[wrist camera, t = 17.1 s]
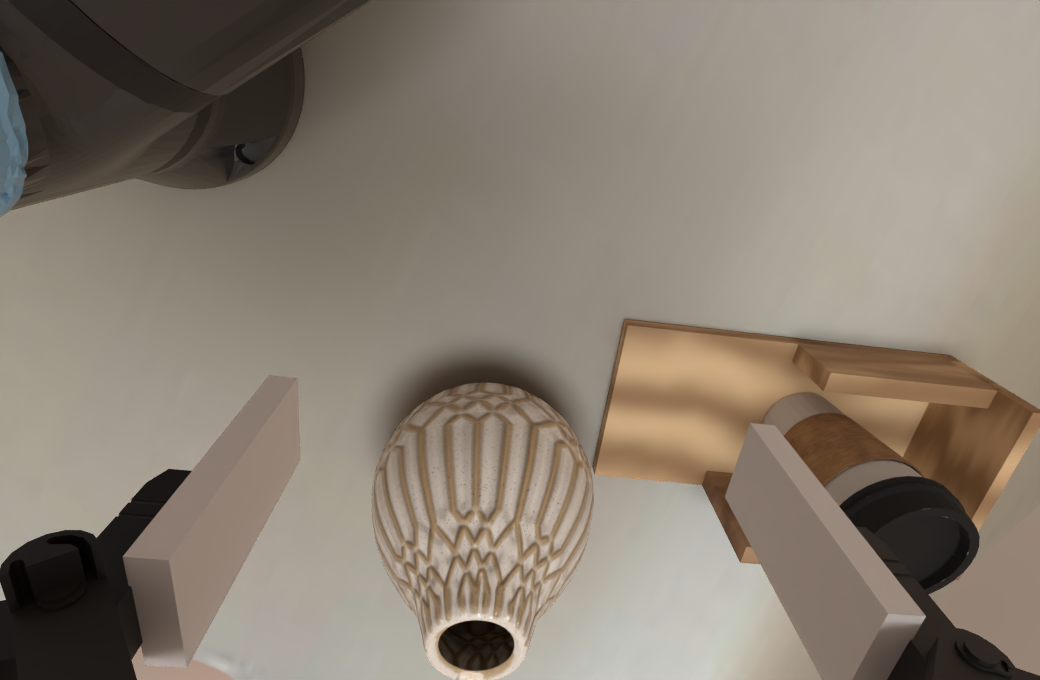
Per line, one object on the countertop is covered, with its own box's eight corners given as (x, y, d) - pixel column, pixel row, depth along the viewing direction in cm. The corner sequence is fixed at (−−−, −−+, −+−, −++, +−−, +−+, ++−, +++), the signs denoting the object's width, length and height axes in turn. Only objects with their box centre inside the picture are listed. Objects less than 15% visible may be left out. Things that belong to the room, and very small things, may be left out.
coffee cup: (744, 388, 45) (847, 519, 32) (851, 369, 45) (1003, 494, 31) (746, 472, 49) (840, 623, 35) (846, 455, 48) (980, 602, 35)
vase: (614, 398, 47) (684, 597, 29) (529, 533, 53) (541, 770, 34) (436, 321, 44) (387, 490, 26) (365, 474, 49) (284, 701, 31)
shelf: (624, 319, 44) (656, 380, 35) (950, 355, 46) (1060, 422, 37) (592, 466, 50) (612, 552, 41) (883, 492, 52) (965, 580, 43)
